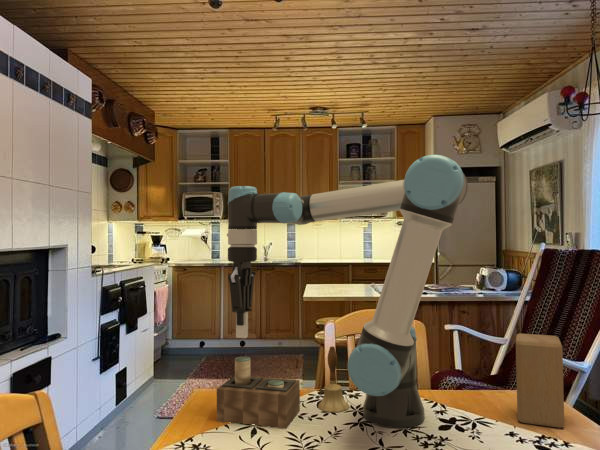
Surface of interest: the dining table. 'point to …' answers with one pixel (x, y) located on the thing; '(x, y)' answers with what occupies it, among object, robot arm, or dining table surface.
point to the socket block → (259, 402)
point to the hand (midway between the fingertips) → (241, 337)
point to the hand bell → (333, 389)
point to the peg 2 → (276, 383)
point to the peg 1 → (242, 371)
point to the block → (539, 380)
